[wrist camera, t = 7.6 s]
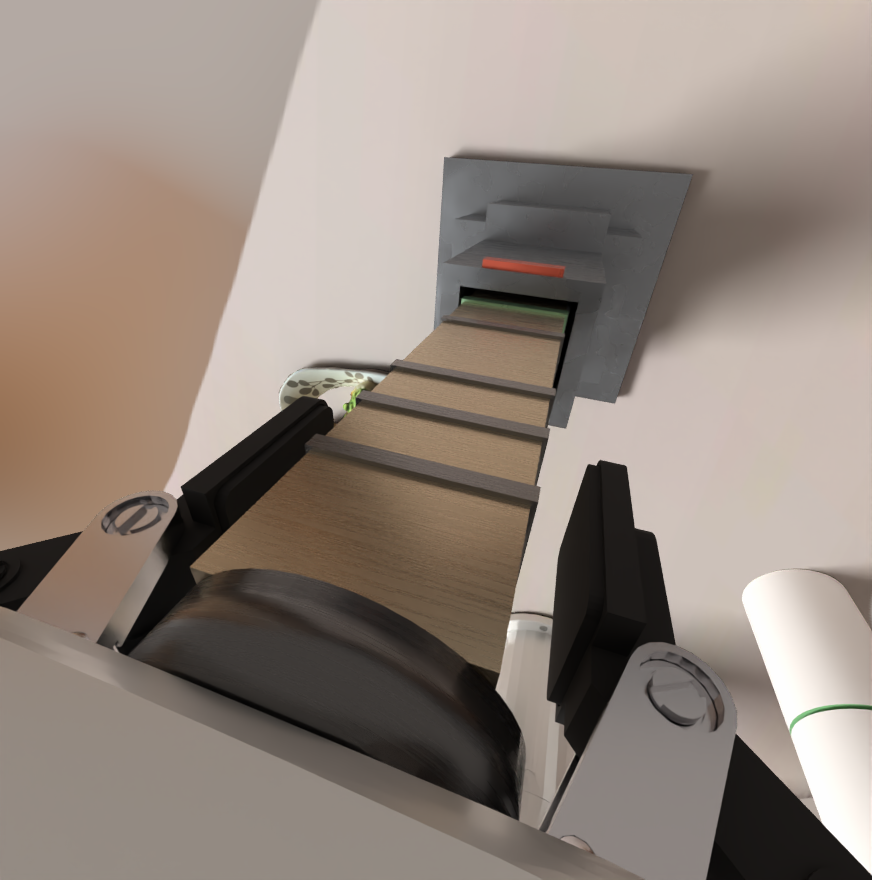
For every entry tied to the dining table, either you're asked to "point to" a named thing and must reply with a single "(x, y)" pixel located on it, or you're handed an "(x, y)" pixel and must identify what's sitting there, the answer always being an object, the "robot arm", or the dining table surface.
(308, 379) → the salad plate
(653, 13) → the dining table surface
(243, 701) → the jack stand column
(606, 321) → the stand
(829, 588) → the cylindrical container
